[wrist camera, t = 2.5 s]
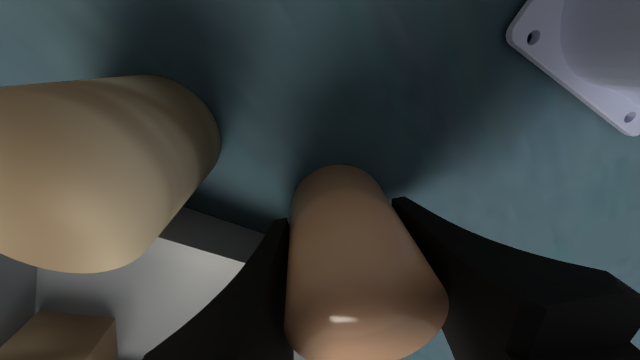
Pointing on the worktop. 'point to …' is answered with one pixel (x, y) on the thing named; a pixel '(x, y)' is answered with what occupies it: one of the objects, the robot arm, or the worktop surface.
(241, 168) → the worktop surface
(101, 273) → the tray
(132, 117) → the beige oval piece
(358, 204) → the tan rounded cylinder
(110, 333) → the oak cube
